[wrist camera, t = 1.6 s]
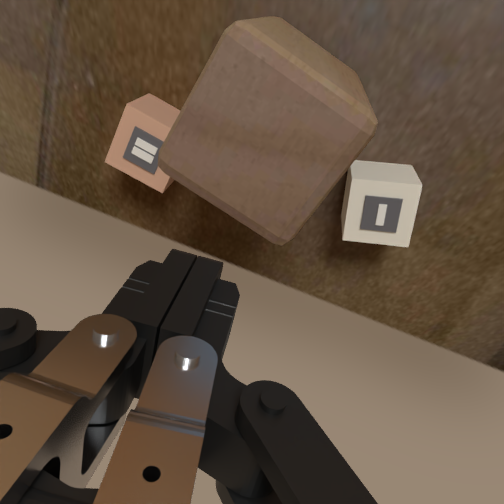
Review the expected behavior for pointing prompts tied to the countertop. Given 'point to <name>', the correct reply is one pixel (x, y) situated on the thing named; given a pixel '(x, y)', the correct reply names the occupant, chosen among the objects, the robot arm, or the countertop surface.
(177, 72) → the countertop surface
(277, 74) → the wooden block
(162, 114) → the pink cube
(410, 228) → the cream cube
